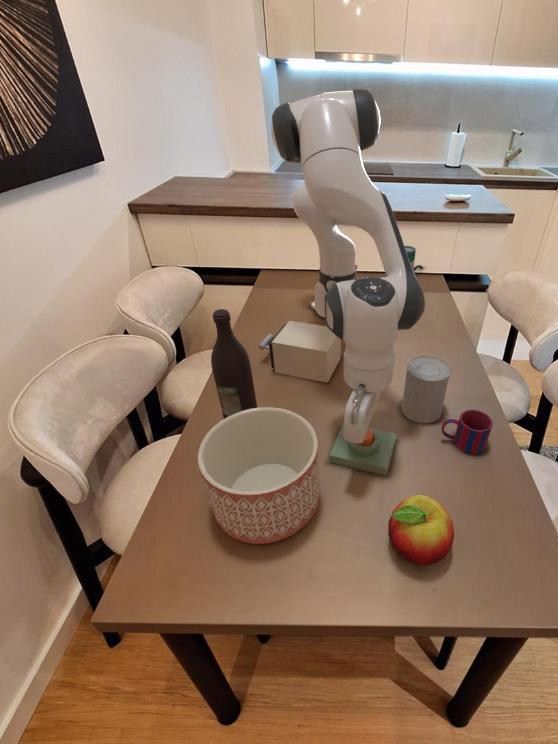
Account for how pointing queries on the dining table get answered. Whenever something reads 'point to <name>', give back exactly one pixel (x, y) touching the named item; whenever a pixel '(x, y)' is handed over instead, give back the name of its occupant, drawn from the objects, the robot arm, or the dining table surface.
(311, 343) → the cream cardboard box
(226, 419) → the planter
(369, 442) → the button
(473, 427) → the mug
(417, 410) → the gray concrete cylinder
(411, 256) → the can
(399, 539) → the fruit
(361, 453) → the box
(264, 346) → the drawer
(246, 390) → the wine bottle
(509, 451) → the dining table surface
